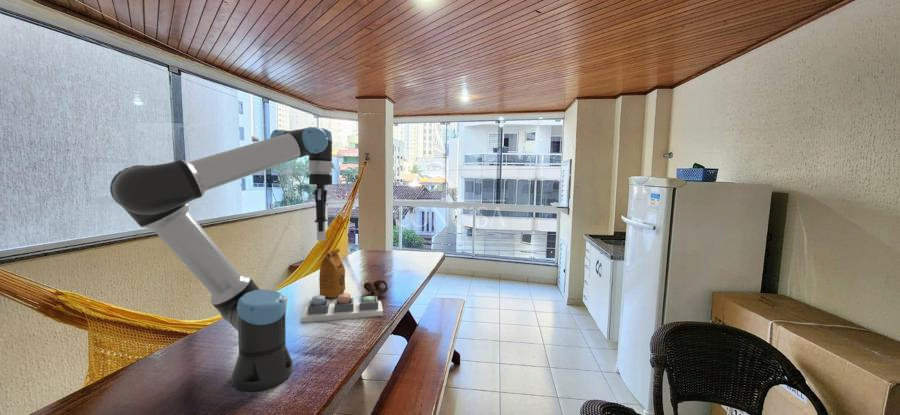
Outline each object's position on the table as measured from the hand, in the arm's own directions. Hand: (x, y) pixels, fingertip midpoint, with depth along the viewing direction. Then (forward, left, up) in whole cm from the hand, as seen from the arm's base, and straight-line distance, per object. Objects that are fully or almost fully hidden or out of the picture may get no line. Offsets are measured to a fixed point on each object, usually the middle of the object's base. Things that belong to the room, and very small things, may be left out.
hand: (321, 240), depth 121 cm
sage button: (+24, +4, -32) cm, 40 cm away
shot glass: (-3, +28, -35) cm, 45 cm away
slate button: (+8, +16, -30) cm, 35 cm away
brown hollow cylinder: (+40, +19, -35) cm, 56 cm away
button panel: (+16, +10, -34) cm, 39 cm away
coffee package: (+25, +33, -35) cm, 54 cm away
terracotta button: (+16, +10, -30) cm, 35 cm away
